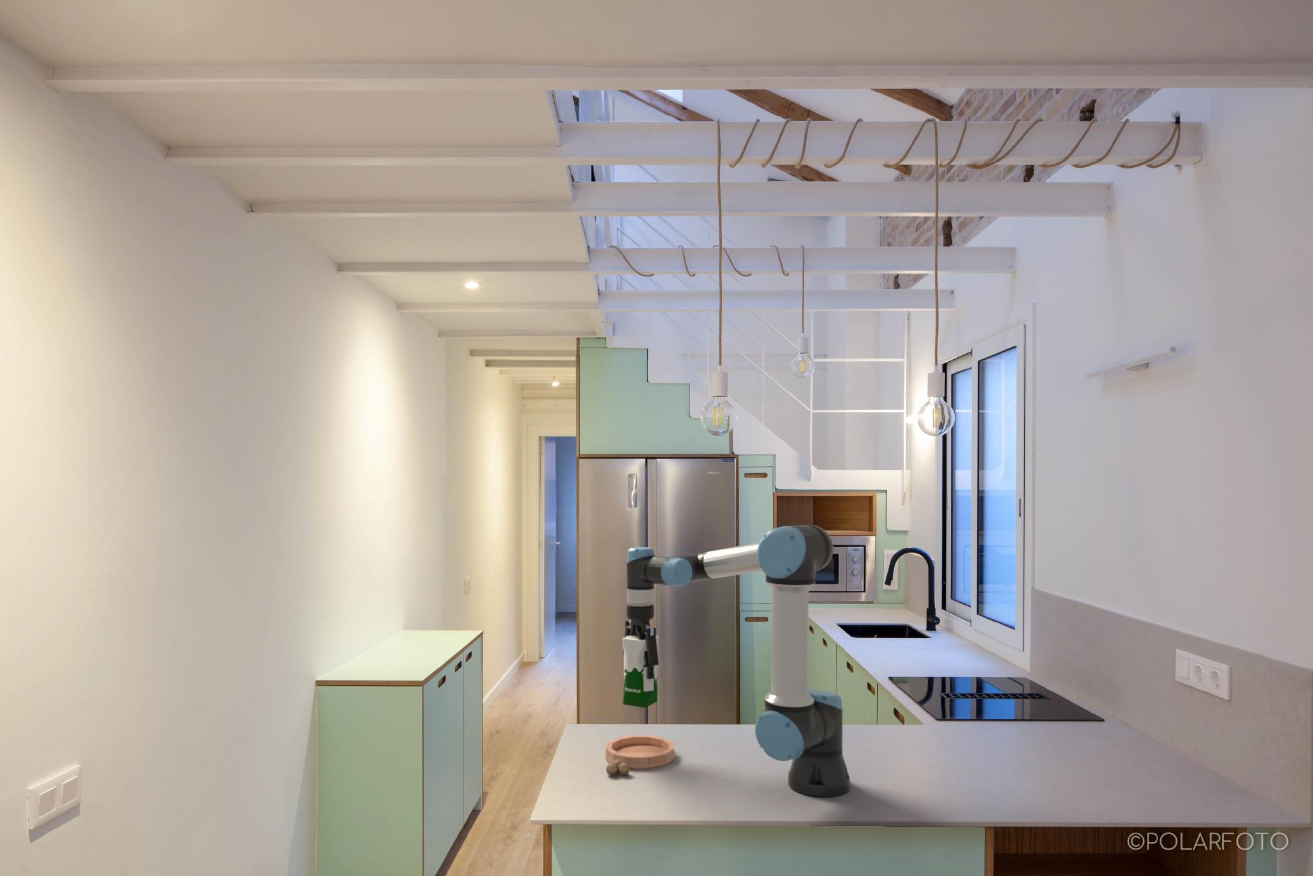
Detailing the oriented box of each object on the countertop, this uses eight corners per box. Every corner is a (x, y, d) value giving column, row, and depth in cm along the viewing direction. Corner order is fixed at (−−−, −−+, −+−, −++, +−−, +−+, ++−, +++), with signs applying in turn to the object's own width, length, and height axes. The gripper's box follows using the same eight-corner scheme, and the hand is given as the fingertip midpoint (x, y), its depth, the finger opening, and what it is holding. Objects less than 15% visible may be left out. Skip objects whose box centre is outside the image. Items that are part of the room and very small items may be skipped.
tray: (687, 761, 222) (687, 750, 222) (624, 774, 213) (624, 762, 213) (653, 742, 238) (653, 731, 239) (594, 752, 229) (594, 741, 229)
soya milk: (661, 701, 228) (662, 628, 229) (646, 709, 220) (646, 633, 221) (634, 697, 232) (634, 625, 233) (617, 705, 224) (618, 630, 225)
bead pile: (631, 775, 211) (631, 764, 211) (611, 779, 209) (611, 767, 209) (621, 768, 217) (621, 757, 217) (601, 772, 214) (601, 760, 214)
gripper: (671, 608, 220) (671, 694, 219) (634, 597, 239) (634, 676, 238) (647, 610, 216) (646, 697, 215) (610, 599, 235) (610, 679, 234)
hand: (640, 686), depth 226 cm, fingers closed on soya milk, 9 cm apart
